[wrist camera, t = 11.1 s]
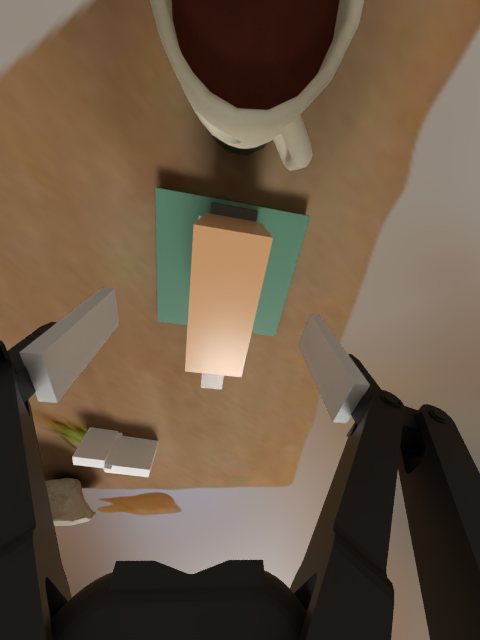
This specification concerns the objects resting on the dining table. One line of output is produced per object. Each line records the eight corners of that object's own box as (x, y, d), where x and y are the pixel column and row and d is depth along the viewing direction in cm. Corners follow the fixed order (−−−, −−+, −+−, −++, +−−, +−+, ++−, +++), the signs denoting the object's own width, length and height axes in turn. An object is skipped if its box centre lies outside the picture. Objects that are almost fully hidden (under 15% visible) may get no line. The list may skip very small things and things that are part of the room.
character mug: (164, 56, 17) (22, -214, 5) (247, -24, 15) (289, -656, 4) (240, 199, 22) (247, 211, 10) (310, 151, 20) (410, 103, 9)
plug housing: (194, 348, 27) (183, 395, 20) (206, 212, 19) (193, 224, 13) (235, 353, 27) (236, 400, 21) (261, 222, 20) (273, 237, 14)
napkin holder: (177, 441, 42) (170, 475, 37) (134, 462, 45) (122, 496, 40) (110, 396, 35) (90, 430, 30) (65, 424, 38) (41, 459, 33)
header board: (161, 315, 28) (141, 350, 22) (160, 187, 21) (130, 187, 15) (273, 329, 29) (283, 367, 23) (305, 214, 22) (332, 224, 16)
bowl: (54, 500, 51) (17, 565, 42) (11, 467, 44) (-44, 537, 35) (117, 493, 50) (93, 557, 41) (84, 458, 43) (46, 527, 34)
